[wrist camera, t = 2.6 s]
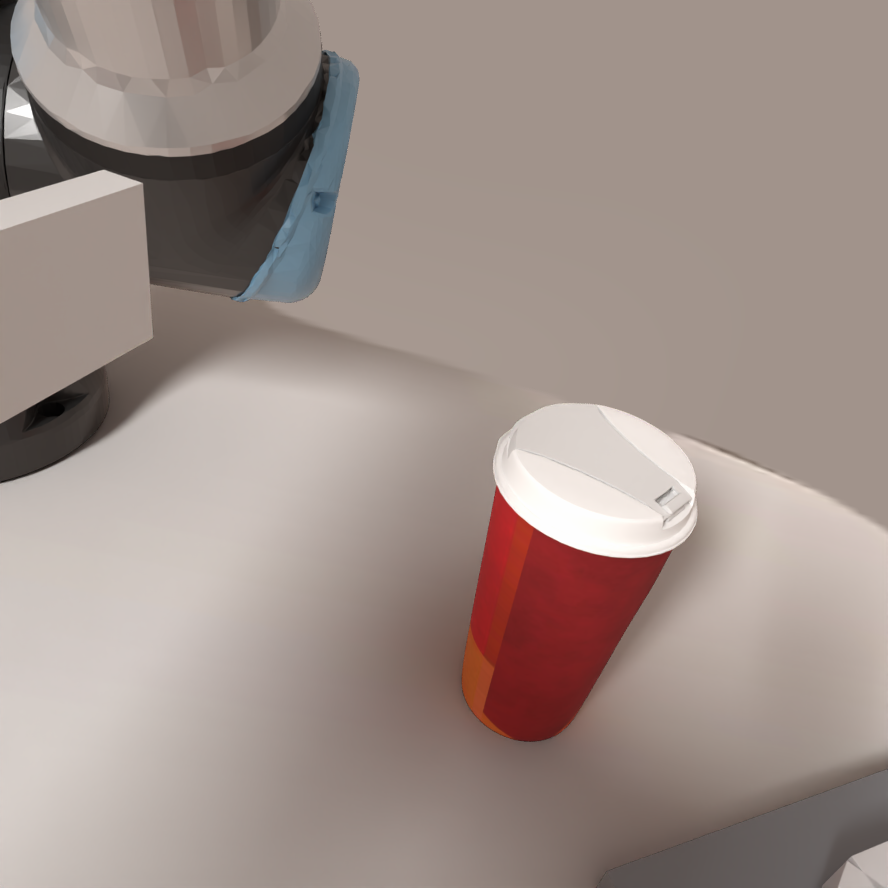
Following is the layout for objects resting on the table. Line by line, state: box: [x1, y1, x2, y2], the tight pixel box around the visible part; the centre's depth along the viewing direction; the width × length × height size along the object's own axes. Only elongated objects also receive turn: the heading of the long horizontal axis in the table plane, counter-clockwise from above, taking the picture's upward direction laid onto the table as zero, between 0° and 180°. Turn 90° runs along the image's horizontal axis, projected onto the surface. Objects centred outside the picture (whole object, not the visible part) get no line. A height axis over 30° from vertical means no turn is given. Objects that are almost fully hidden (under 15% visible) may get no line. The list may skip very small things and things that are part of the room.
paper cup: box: [462, 403, 698, 742], centre depth 32 cm, size 8×8×14 cm
